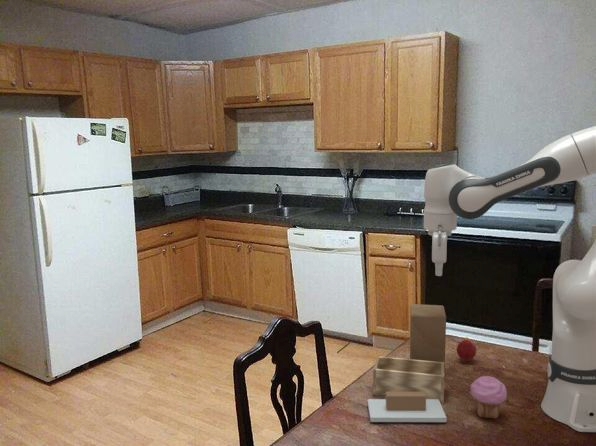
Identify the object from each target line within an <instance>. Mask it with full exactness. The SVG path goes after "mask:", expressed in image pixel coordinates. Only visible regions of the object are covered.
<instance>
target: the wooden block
mask: <svg viewBox="0 0 596 446" xmlns="http://www.w3.org/2000/svg"><path fill="white" fill-rule="evenodd" d="M409 310H410V312H409V313H410V317H409V321H410V322H409V326H410V327H409V329H410V330H409V359H415V360H425V361H436V362H444V379H446V378H445V377H446V376H445V375H446V374H445V373H446V344H447V343H446V341H447V340H446V336H447V335H446V334H447V333H446V332H447V314H446V311H445V307H444V305H438V304H419V303H418V304H416V303H415V304H414V303H411V304H410V309H409Z"/></svg>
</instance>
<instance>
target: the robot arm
mask: <svg viewBox="0 0 596 446" xmlns="http://www.w3.org/2000/svg"><path fill="white" fill-rule="evenodd" d="M593 174H596V125H594V126H591V127H588V128H587V127H586V128H584V129H581V130H578V131H576V132H573V133H572V132H571V133H570V134H567V135H564V136H563V137H560V138H558V139H556V140H554V141H553V142H551V143H549V144H547V145H546V146H545V147H544V146H543V148H542V149H540V151H538V152H537V153H536V154H534V156H533V157H531V158H530V159H529V160H527V161H525V162H524V163H523V164H521V165H518V166H516V167H514V168H511V169H509V170H506V171H504V172H501V173H498V174H496V175H493V176H491V177H488V178H486V177H484V176H480V175H477V174H474V173H472V172H471V173H470V172H468V171H466V170H464V169H462V168H460V167H459V166H458V165H456V164H455V163H451V162H450V163H442V164H438V165H437V164H436V165H432V166H431V167H430V168H428V170H427V171H426V173H425V178H424V188H423V189H424V191H423V197H424V201H425V202H424V203H425V204H424V205H425V206H424V209H423V229H424V230H426V231H427V235H429V236H431V237H432V241H431V242H432V243H431V244H432V245H431V261H432V263H434V266H435V268H434V269H435V271H434V272H435V273H434V274H435V276H437V277H442V276H443V267H444V264H446V262H447V253H448V252H447V251H448V250H447V245H448V244H447V243H448V237H451V236H452V233H453V232H452V231H455V230H456V229H457V228H458V227H457V226H458V225H457V222H458V220H457V219H458V217H460V218H462V219H465V220H475V219H478V218H481V217H482V216H484V215H486V213H487V212H489V210H490V209H491V208H492V207H494V206H495V205H497V203H500V202H502V201H504V200H507V199H510V198H511V197H512V198H513V197H515V196H517V195H520V194H522V193H526V192H527V191H530V190H533V189H536V188H542V187H546V186H552V185H553V186H554V185H558V184H563V183H568V182H572V181H576V180H579V179H582V178H586V177H588V176H591V175H593ZM552 278H553V280H552V339H551V354H550V355H549V357H548V358H549V359H548V363H547V377H548V382H547V386H546V390H545V393H544V396H543V400H542V401H541V403H540V407H541V409H542V411H543V413H545V415H547V416H548V417H550V418H551V419H553V420H554V421H558V422H560V423H562V424H564V425H567V426H569V427H570V428H571V429H573V430H574V431H577V432H579V433H580V432H581V433H596V238H595V239H594V242H593V243H592V246H591V247H590V248H589V249H588V251H587V252H586V253H585V255H584V257H582V259H581V260H580V259H569V260H565V261H563V262H561V263H560V264H559V265H558V266H557V268H556V269H555V272H554V274H553V277H552Z"/></svg>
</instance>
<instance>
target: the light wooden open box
mask: <svg viewBox="0 0 596 446" xmlns="http://www.w3.org/2000/svg"><path fill="white" fill-rule="evenodd" d="M372 372H373V373H372V381H373V382H372V385H373V386H372V390H373V391H372V392H373V393H372V395H373V396H372V397H375V398H383V399H386V392H425V395H426V399H439V401H440V404H441V405H444V403H445V402H444V400H445V398H444V397H445V393H444V392H445V378H444V362H436V361H425V360H415V359H410V358H401V357H391V356H379V355H377V356H376V358H375V362H374V366H373V371H372Z"/></svg>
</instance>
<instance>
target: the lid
mask: <svg viewBox="0 0 596 446" xmlns="http://www.w3.org/2000/svg"><path fill="white" fill-rule="evenodd" d="M367 407H368V414H369V421H370V423H447V420H448V419H447V416H446V415H447V414H446V413H445V410H444V409H443V407H442V404H440V401H439V399H426V395H425V392H386V398H382V399H381V398H379V399H378V398H369V399H367Z"/></svg>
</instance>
